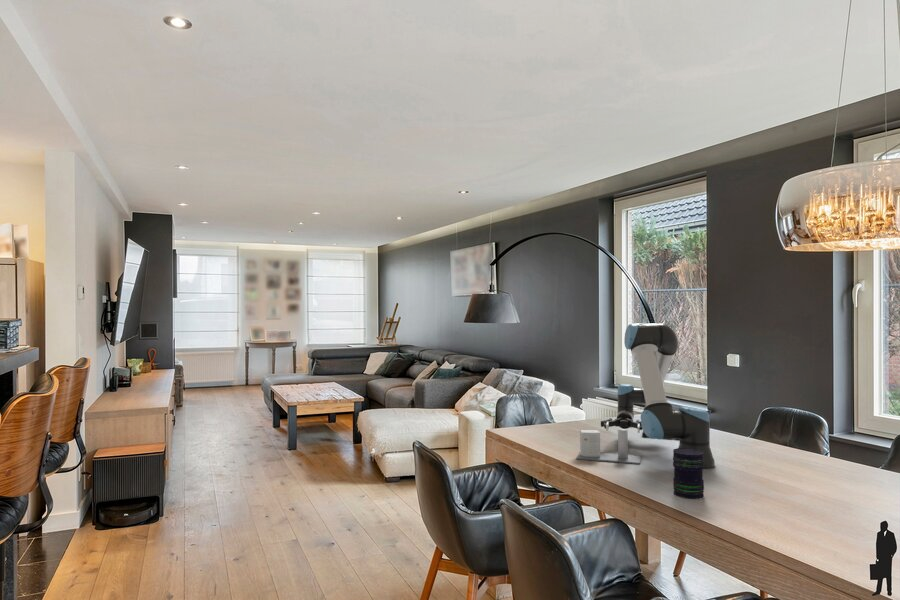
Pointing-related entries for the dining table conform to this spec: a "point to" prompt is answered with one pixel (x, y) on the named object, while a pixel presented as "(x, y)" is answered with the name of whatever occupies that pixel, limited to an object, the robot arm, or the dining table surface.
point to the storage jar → (688, 473)
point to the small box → (590, 443)
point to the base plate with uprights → (622, 452)
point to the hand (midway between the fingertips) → (622, 428)
